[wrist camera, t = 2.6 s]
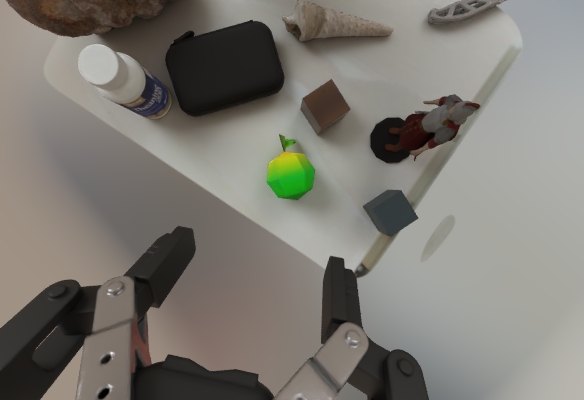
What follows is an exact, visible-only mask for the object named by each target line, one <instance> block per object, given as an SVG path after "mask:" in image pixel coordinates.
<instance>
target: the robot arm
mask: <svg viewBox="0 0 584 400" xmlns="http://www.w3.org/2000/svg"><path fill="white" fill-rule="evenodd" d="M195 250H196V246H195V239H194V233H193V229H191V228H186V227H181V226H178V227H176V228H175V229H174V231H173V232H172V233H171V234H169V233H167V234H165V235H163V236H161V237H160V238H159V239H157V240H156V241H155V242H154V243H153V245H152V246H151V247H150V248H149V249H148V250H147V251H146V253H144V254H143V255H142V256H141V257H140V258H139V260H138V261H137V262H136V263H135V264H134V265H133V266H132V267H131V268H130V269H129V270H128V271H127V272H126V274H124V275H123V276H118V277H115V278H112V279H110V280H108V281H107V282H105V283H104V284H103V285H99V286H86V287H81V286H80V284H79V283H78V282H77V281H75V280H63V281H59V282H57V283H55V284H52V285H50V286H49V287H47V288H46V289H45V290H43V291H42V292H41V293H40V294H39V295H38V296H37V297H35V298H34V299H33V300H32V301H31V302H30V303H29V304H27V305H26V306H25V307H24V308H23V309H22V310H21V311H20V312H18V313H17V314H16V315H15V316H14V317H13V318H12V319H11V320H9V321H8V322H7V323H6V324H5V325H4V326H3V327H1V328H0V400H40V399H41V398H42V397H43V395H44V394H45V393H46V392H47V390H48V389H49V388H50V386H51V385H52V384H53V383H54V381H55V380H56V379H57V377H58V376H59V375H60V374H61V372H62V371H63V370H64V369H65V367H66V366H67V365H68V363H69V362H70V361H71V360H72V358H73V357H74V356H75V355H76V353H77V352H78V351H79V349H80V348H81V347H82V346H83V353H82V359H81V365H80V372H79V378H78V385H77V392H76V398H75V400H334V399H335V398H336V397H337V395H338V394H339V392H340V390H341V389H342V387H343V386H344V385H345V383H346V382H348V383H349V384H351V385H352V386H354V387H355V388H357V389H359V390H360V391H362V392H363V393H365V394H366V395H367V397H368V400H429V398H428V394H427V390H426V385H425V381H424V377H423V373H422V370H421V367H420V365H419V364H418V362H417V361H416V360H415V358H414V357H413V356H411V355H410V354H409V353H407V352H405V351H403V350H399V349H398V350H393V351H391V352H390V351H388V350H386V349H384V348H382V347H381V346H379V345H377V344H376V343H374V342H373V341H372V340H371V339H370V338H368V336H367V335H366V333H365V332H364V330H363V327H362V322H361V313H360V305H359V297H358V289H357V279H356V277H355V275H354V273H353V271H352V270H350V269H345V267H344V259H343V258H339V257H334V256H330V258H329V261H328V264H327V267H326V270H325V274H324V279H323V298H322V329H321V343H322V344H324V345H323V346H322V347H321V348H320V349H319V351H318V352H317V353H316V354H315V355H314V356H313V357H312V358H309V359H308V360H307V361H306V362H305V363H304V364H303V365H302V367H300V369H299V370H298V371H297V372H296V373H295V374H294V375H293V377H292V378H291V379H290V380H289V381H288V382H287V383H286V385H285V386H284V387H283V388H282V389H281V390H280V391H279V393H278V394H277V395H276V396H275V397H274V396H273V394H272V393H271V392H270V390H269V389H268V388H267V387H266V386H264V385H263V384H262V383H260V382H259V381H258V374H255V373H250V372H246V371H241V370H237V369H234V370H224V371H223V370H222V371H209V370H207V369H205V368H204V367H202V366H200V365H199V364H197V363H196V362H194V361H192V360H191V359H188V358H183V357H178V356H174V355H168V356H167V357H166V359H165V361H163V362H157V363H154V364H152V363H151V358H150V354H149V344H148V325H147V313H146V312H147V311H148V309H149V308H150V307H155V308H159V307H160V306H161V304H162V303H163V301H164V300H165V298H166V297H167V295H168V294H169V292H170V291H171V289H172V288H173V286H174V285H175V283H176V282H177V280H178V279H179V277H180V276H181V275H182V273H183V271H184V270H185V269H186V267H187V266H188V264H189V263H190V261H191V260H192V258H193V256H194V254H195ZM56 326H57V327H56ZM55 327H56V328H55ZM54 328H55V330H54V331H53V332H52V330H53V329H54ZM51 332H52V333H51ZM50 333H51V334H50ZM49 334H50V335H49ZM48 335H49V336H48ZM47 336H48V337H47ZM46 337H47V338H46ZM45 338H46V339H45ZM44 339H45V340H44ZM43 340H44V341H43ZM42 341H43V342H42ZM41 342H42V343H41ZM40 343H41V345H40V346H39V344H40ZM83 344H84V345H83ZM38 346H39V347H38ZM37 347H38V348H37ZM36 348H37V349H36ZM35 349H36V350H35Z"/></svg>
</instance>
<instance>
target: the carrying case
mask: <svg viewBox="0 0 584 400" xmlns="http://www.w3.org/2000/svg"><path fill="white" fill-rule="evenodd" d="M194 35H195V33H194V32H193V31H188V32H186V33H185V34H184V35H182V36H181V37H179V38H178V39H176V40H174V43H173V44H171V45H170V48H169V49H168V51H167V53H166V58H165V61H166V66H167V69H168V72H169V75H170V78H171V81H172V84H173V87H174V90H175V93H176V96H177V99H178V102H179V105H180V108H181V109H182V110H183V111H184V112H185V113H186V114H188V115H190V116H194V117H196V116H202V115H205V114H209V113H212V112H216V111H219V110H222V109H226V108H229V107H232V106H236V105H239V104H243V103H246V102H249V101H253V100H256V99H260V98H263V97H266V96H270V95H273V94H275V93H277V92H279V91H280V90H281V88H282V87H283V84H284V73H283V70H282V66H281V63H280V60H279V56H278V53H277V49H276V46H275V42H274V39H273V36H272V32H271V30H270V29H269V28H268V27H267V26H266V25H265V24H264V23H262V22H258V21H253V20H250V21H248V22H244V23H241V24H237V25H234V26H230V27H226V28H223V29H219V30H216V31H212V32H209V33H205V34H202V35H198V36H195V37H194Z"/></svg>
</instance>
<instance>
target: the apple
mask: <svg viewBox="0 0 584 400" xmlns="http://www.w3.org/2000/svg"><path fill="white" fill-rule="evenodd" d="M279 136H280V140H281V143H282V147H283V150H284V152H283V153H282V154H280V155H279V156H278V157H276V158H275V159H274V160H273V161H271V162H270V163H269V168H268V176H267V183H268V185H269V186H270V187H271V189H272V190H273V191H274V192H275V194H276V195H277V196H278V197H279V198H286V199H294V200H298V199H299V198H300V197H302V196H303V195H304V194H306V193H307V192H308V191H309V190H311V189H312V186H313V179H314V172H315V169H314V168H313V166H312V165H311V164H310V162H309V161H308V160H307V158H306V157H305V156H304V154H299V153H292V152H285V149H286V148H287V147H289V146H290V145H292V144H293V143H295V142H296V140H285V136H282V135H280V134H279Z"/></svg>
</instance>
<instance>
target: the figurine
mask: <svg viewBox="0 0 584 400" xmlns="http://www.w3.org/2000/svg"><path fill="white" fill-rule="evenodd" d="M423 103H424V104H436V105H438V106H440V107H438V108H435V109H433V110H432V111H430V112H426V111H415V113H418V114H411V115H409V116H408V117H407V118H406V120H405V121H404V120H402V119H401V118H386V119H384V120H383V121H381V122H380V123H378V124H376V126H375V128H374V130H373V132H372V133H371V148H372V150H373V152H374V154H375V155H376V157H377V158H379V159H381V160H383V161H384V162H386V163H392V162H400V161H402V160H403V159H405V158H406V157H408V156H409V155H410V153H411V152H413V153H411V155H413V156H415V158H414V161H415V159H416V156H418V155H419V154H421V153H422V152H423V151H425V150H428V149H431V148H434V147H436V146H438V145H440V144H443V143H445V142H447V141H451V140H452V139H453V138H455V136H456V135H457V133H458V130H459V127H460V125H461V124H463V123H464V122H465V121H466V119H467V117H468V116H470V115H472V114H473V112H474V111H475V110H477V109H479V107H480V105H479V104H476V103H472V102H469V101H462V100H461V99H460V98H459V97H458V96H456V95H455V94H454V95H449V96H448V97H441V98H440V99H437V100H433V101H424V102H423ZM420 113H423V114H420ZM412 150H414V151H412Z"/></svg>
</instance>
